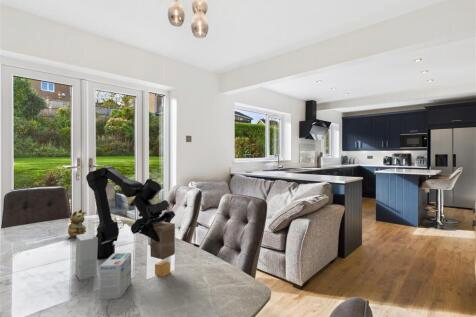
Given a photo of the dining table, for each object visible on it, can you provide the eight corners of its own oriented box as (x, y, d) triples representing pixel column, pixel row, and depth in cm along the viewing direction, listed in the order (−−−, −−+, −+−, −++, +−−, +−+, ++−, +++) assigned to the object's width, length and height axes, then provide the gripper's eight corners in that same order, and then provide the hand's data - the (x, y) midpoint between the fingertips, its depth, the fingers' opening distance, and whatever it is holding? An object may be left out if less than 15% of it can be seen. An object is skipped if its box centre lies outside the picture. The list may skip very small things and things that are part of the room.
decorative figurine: (77, 238, 142) (77, 211, 142) (63, 238, 143) (63, 211, 143) (88, 233, 152) (88, 208, 152) (74, 233, 152) (74, 208, 152)
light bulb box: (112, 283, 91) (112, 252, 91) (132, 282, 92) (131, 252, 92) (98, 299, 81) (98, 265, 81) (120, 298, 81) (120, 264, 81)
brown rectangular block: (150, 256, 98) (150, 225, 98) (162, 251, 104) (162, 221, 104) (162, 259, 95) (162, 227, 95) (174, 254, 101) (174, 223, 101)
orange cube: (154, 274, 98) (154, 263, 98) (162, 270, 102) (162, 260, 102) (162, 276, 96) (162, 266, 96) (170, 272, 100) (170, 262, 100)
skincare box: (74, 273, 99) (74, 235, 99) (92, 268, 103) (92, 231, 103) (80, 280, 93) (79, 239, 93) (98, 275, 97) (98, 236, 97)
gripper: (135, 197, 93) (158, 232, 88) (172, 191, 109) (192, 220, 104) (121, 216, 97) (141, 251, 92) (158, 208, 113) (177, 237, 108)
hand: (165, 238), depth 99 cm, fingers closed on brown rectangular block, 6 cm apart
